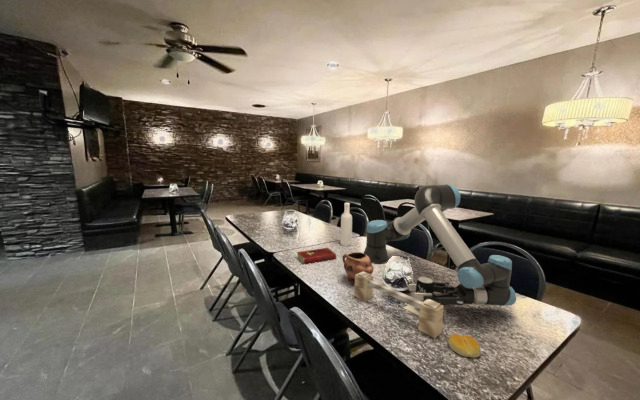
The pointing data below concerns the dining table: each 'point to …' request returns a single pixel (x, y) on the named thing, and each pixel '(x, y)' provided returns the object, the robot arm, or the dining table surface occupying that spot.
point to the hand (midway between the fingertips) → (411, 291)
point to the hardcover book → (316, 255)
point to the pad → (412, 309)
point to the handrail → (428, 309)
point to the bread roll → (464, 345)
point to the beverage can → (424, 285)
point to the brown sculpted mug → (356, 265)
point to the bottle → (346, 226)
